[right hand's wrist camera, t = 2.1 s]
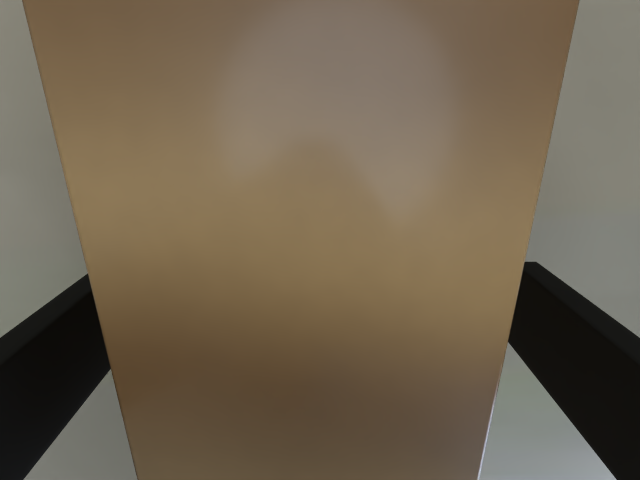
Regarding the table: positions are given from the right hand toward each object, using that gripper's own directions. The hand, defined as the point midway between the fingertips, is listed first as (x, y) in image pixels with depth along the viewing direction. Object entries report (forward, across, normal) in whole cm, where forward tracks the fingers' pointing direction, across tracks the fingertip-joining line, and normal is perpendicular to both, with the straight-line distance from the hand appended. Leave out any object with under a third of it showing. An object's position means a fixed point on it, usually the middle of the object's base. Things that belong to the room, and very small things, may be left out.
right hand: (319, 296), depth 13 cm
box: (+6, 0, -7) cm, 9 cm away
